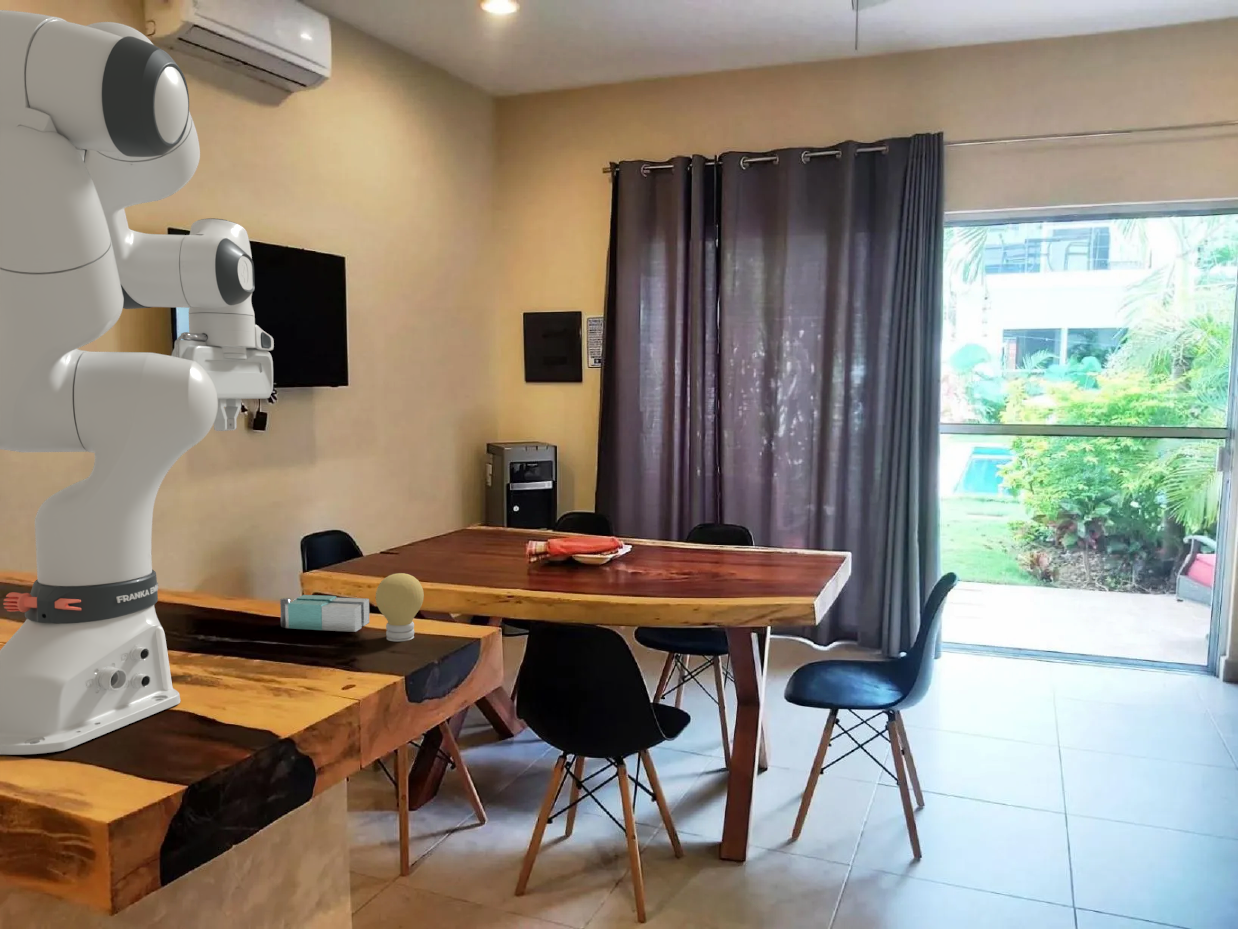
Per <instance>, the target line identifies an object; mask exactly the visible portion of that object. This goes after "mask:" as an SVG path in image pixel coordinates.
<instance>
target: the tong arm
mask: <svg viewBox="0 0 1238 929" xmlns="http://www.w3.org/2000/svg"><path fill="white" fill-rule="evenodd" d="M295 600H309V601H329V603H338V604H358V605H361V623H362V627H365V626H366V625H368V624H369V623H370V599H369V598H359V597H358V598H357V597H355V598H354V597H337V596H336V595H318V594H317V595H315V594H302V595H301V596H298V597H295V598H294V599H293V601H295Z"/></svg>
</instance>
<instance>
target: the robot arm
mask: <svg viewBox="0 0 1238 929" xmlns="http://www.w3.org/2000/svg"><path fill="white" fill-rule="evenodd" d="M188 87H189V86H188V83H187V81H186V77H185V75H184V73H183V71H182V69H181V68H180V66H179V65H178V64H177V62H176V61H175V59H174V58H172V57H171V55H170V54H169V53H168V52H166V51H165V50H164V49H162V48H161V47H159V46H156V45H155V44H154V43H153V42H152V41H151V39H149V38H148V37H147V36H146V35H145V34H143V33H142V32H140V31H139V30H137V29H136V28H134V27H132V26H130V25H126V24H123V23H119V22H113V21H101V22H100V21H99V22H94V23H90V24H87V25H83V24H79V23H76V22H70V21H67V20H66V19H64V18H62V17H58V16H54V15H53V16H52V15H47V14H41V13H34V12H27V11H17V10H6V9H5V10H4V9H0V450H3V451H10V452H17V453H18V452H19V453H81V452H82V453H84V452H85V453H86V452H88V453H93V454H94V462H93V468H92V469H91V470H92V471H91V472H90V474H89V476H88V477H86V478H85V479H82V480H79V481H78V482H75V483H72V484H71V485H68V486H66V487H64V488H63V489H61V490H59V491H57V492H55V493H53V494H51V495H50V496H48V498H46V499H45V500H44V502H42V503H41V505H40V506H39V507H38V510H37V512H36V516H35V517H34V536H35V553H36V554H35V556H36V572H37V573H36V575H37V576H36V577H37V579H36V580H35V581H34V582H33V584H32V587H31V591H30V593H29V592H24V593H21V592H14V591H12V592H9V593H7V594H6V595H5V597H6V598H4V599H3V603H2V604H3V609H6V611H7V612H9V613H10V612H11V613H12V612H13V613H14V612H20V613H24V618H25V621H24V622H23V623H22V625H21V626H20V627H19V628H18V629H17V630H16V632H14V634H12V636H11V637H10V638H9V639H8V641H7V642H6V643H5V644H4V645H3V647H2V648H1V649H0V755H10V756H11V755H37V754H38V755H39V754H47V753H49V754H50V753H55V752H61V751H65V750H68V749H71V748H74V747H77V746H78V745H81V744H83V743H86V742H88V741H91V740H92V739H95V738H98V737H101V736H103V735H106V734H107V733H110V732H112V731H115V730H118V729H120V728H123V727H125V726H128V725H129V724H132V723H135V722H137V721H140V720H142V719H145V718H147V717H150V716H152V715H154V714H157V713H159V712H162V711H164V710H168V709H170V708H172V707H174V706H177V705H179V704H180V703H181V697H180V696H181V695H180V692H179V691H178V690H177V689H175V688H174V687H173V683H172V675H171V674H172V673H171V667H170V661H169V660H170V659H169V655H168V648H167V646H168V645H167V641H166V640H167V639H166V634H165V631H164V628H163V626H162V624H161V622H160V620H159V618H158V615H157V613H156V608H155V605H156V603H157V602H158V600H159V598H158V596H159V595H158V590H159V582H158V580H157V579H158V578H157V577H158V576H157V572H156V571H155V570H154V569H153V562H152V558H153V557H152V539H153V538H152V536H153V519H154V516H153V515H154V507H155V502H156V500H157V499H156V498H157V495H158V492H159V491H160V490H159V489H160V487H161V485H162V483H163V481H164V479H165V477H166V475H167V474H168V472H169V471H170V470H171V468H173V466H174V465H175V464H176V462H177V461H178V460H179V459H180V458H181V457H182V456H183V455H184V454H185V453H187V452H188V451H189V450H190V449H191V448H193V447H194V446H196V445H198V444H199V443H200V442H201V441H202V440H203V439H205V437H206V436H207V435H208V433H210V431H211V429H212V428H213V429H214V430H215V431H216V432H228V431H235V430H237V418H238V416H239V413H240V411H241V409H242V400H246V399H247V400H251V399H252V400H254V399H269V398H270V397H271V394H272V393H273V390H274V361H273V357H272V354H271V353H270V352H269V351H273V350H274V347H275V346H274V344H275V343H274V340H275V339H274V338H273V336H272V335H270V334H269V333H267V332H266V331H264V330H263V329H262V328H261V327H260V326H259V325H257V324H256V318H255V311H254V307H253V304H252V303H253V302H252V296H253V292H254V291H255V265H254V261H253V258H252V257H253V256H252V249H251V243H250V238H249V235H248V231H247V230H246V229H245V228H244V227H243V225H241V224H239V223H237V222H234V221H231V220H227V219H223V218H211V217H210V218H201V219H198V220H196V221H194V222H192V223H191V227H190V232H189V234H186V235H185V234H164V233H163V234H160V233H159V234H158V233H157V234H156V233H147V232H146V233H144V232H141V231H136V230H133V229H130V227H129V223H128V219H127V215H126V211H125V210H126V208H129V207H132V206H136V205H140V204H145V203H147V204H148V203H153V202H156V201H157V202H158V201H162V200H164V199H166V198H169V197H171V196H172V195H174V194H176V193H177V192H179V191H181V189H183V188H184V187H185V186H186V185H187V184H188V183H189V182H190V181H191V180H192V178H193V176H194V175H195V173H196V171H197V169H198V168H199V167H198V166H199V163H200V159H201V150H200V149H201V148H200V141H199V136H198V132H197V128H196V126H195V122H194V119H193V117H192V115H191V112H190V95H189V94H190V93H189V88H188ZM150 308H184V309H185V308H188V331H187V332H181V333H180V335H179V336H178V337H177V339H176V340H175V341H174V348H173V350H172V352H171V355H167V354H163V353H162V354H161V353H158V352H157V353H156V352H142V351H141V352H139V351H138V352H137V351H135V352H134V351H132V352H131V351H130V352H129V351H89V350H88V351H87V350H82V349H80V348H81V347H83V346H84V347H85V346H86V345H89V344H91V343H92V342H95V341H96V340H98V339H99V338H101V337H103V336H104V335H105V334H106V333H107V332H108V331H110V330H111V329H112V328H113V327H114V326H115V324H117V322H118V321H119V319H120V317H121V315H122V312H123V310H135V309H136V310H137V309H150Z"/></svg>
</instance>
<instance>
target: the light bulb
mask: <svg viewBox="0 0 1238 929" xmlns="http://www.w3.org/2000/svg"><path fill="white" fill-rule="evenodd" d="M424 593H425V592H424V589H423V586H422V584H421V582H420V581H419V579H417V578H416V577H415V576H413V575H411V574H408V573H404V572H403V573H402V572H399V573H392V574H389V575H388V576H386V577H384V579H382V580H381V582H379V584H378V586H377V589H376V592H375V603H376V606H377V608H378V610H379V612H380V613H381V614H382V615H383V617H384V618H385V619H386V621H387V622H386V625H385V627H386V628H385V629H386V632H385V634H386V640H387V641H390V642H407V641H410V640H412V639H414V638H415V636H414V635H415V623H414V621H413V620H414V618H415V617H416V616H417V613H418V612H419V611H420V609H421V608H422V605H423V603H424V597H425V595H424Z"/></svg>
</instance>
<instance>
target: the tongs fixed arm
mask: <svg viewBox="0 0 1238 929" xmlns="http://www.w3.org/2000/svg"><path fill="white" fill-rule="evenodd" d="M279 603H280V604H279V605H280V627H281V628H285V629H290V630H291V629H294V630H295V629H296V630H313V631H333V632H334V631H335V632H350V633H351V632H353V633H354V632H355V633H357V632H358V631H359V630H361V629H363V628H362V627H363V626H362V623H361V605H358V604H338V603H329V601H309V600H295V601H294V600H292V599H291V598H290V597H284V598H280V600H279Z"/></svg>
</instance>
